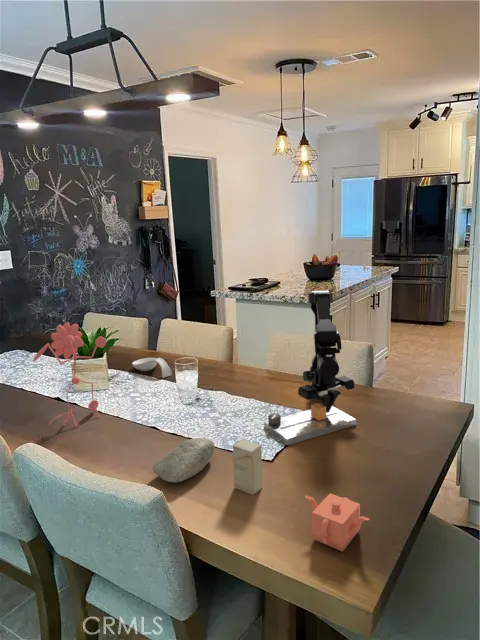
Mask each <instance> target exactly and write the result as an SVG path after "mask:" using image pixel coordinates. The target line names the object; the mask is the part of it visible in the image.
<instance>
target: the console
mask: <svg viewBox="0 0 480 640" xmlns="http://www.w3.org/2000/svg"><path fill="white" fill-rule="evenodd" d="M263 424H264V429H266V430H267V431H268V432H269V431H270V433H271V434H272V433H273V434H274V435H273V434H272V435H273V436H274V437H276V436H277V437H278V438H279V439H278V438H277V437H276V438H277V439H278V440H280V439H281V440H282V441H283V442H284V443H283V442H282V441H281V440H280V441H281V442H282V443H283V444H285V446H290V445H292V444H296V443H300V442H303V441H307V440H310V439H313V438H317V437H319V436H320V437H321V436H323V435H326V434H330V433H334V432H337V431H340V430H343V429H347V428H350V427H353V426H354V427H355V426H356V425H357V419H356V418H354V417H353V416H351V415H349V414H348V413H346V412H344V411H343V410H340V408H337V407H335V406H334V405H332V407H331V409H330V411H329V412H326V419H322V420H319V421H318V420H317V419H315V418H314V417H312V416H311V408H310V409H307V410H303V411H300V412H295V413H292V414H289V415H284V416H281V423H280V424H277V425H272V424H269V422H268V420H266V421H263Z"/></svg>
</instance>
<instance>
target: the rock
mask: <svg viewBox="0 0 480 640" xmlns="http://www.w3.org/2000/svg"><path fill="white" fill-rule="evenodd" d="M215 448H216V446H215V443H214V442H213V440H211V439H208V438H205V437H204V438H203V437H197V438H195V437H194V438H189V439H187V440H184V441H183V442H181V443H179V444H178V445H176V446H175V447H174V448H173V449H171V451H169V452H167V453H166V454H165V455H164V456H162V457H161V458H160V459H158V461H157V462H155V463H154V464H153V466H152V468H151V469H152V470H151V471H152V473H154V474H155V475H157V476H159V477H160V478H161V479H162V480H163V481H166V482H169V483H181V482H183V481H186V480H188V479H190V478H193V477H195V476H196V475H197V474H199V472H201V471H202V470H203V469H204V468H205V467H206V466H207V464H208V463H209V462H210V460H211V459H212V457H213V455H214V451H215Z"/></svg>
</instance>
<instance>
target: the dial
mask: <svg viewBox="0 0 480 640" xmlns="http://www.w3.org/2000/svg"><path fill="white" fill-rule="evenodd" d="M281 417H282V416H281V414H279V413H270V414H269V415H268V418H267V421H268V422H269V424H272V425H277V424H280V423H281Z"/></svg>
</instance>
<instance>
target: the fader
mask: <svg viewBox="0 0 480 640" xmlns="http://www.w3.org/2000/svg"><path fill="white" fill-rule="evenodd" d="M310 409H311V416H312V417H314V418H315V419H317V420H318V421H319V420H322V419H326V407H325V406H323V405H322V403H320V402H316V403H313V404H310Z"/></svg>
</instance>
